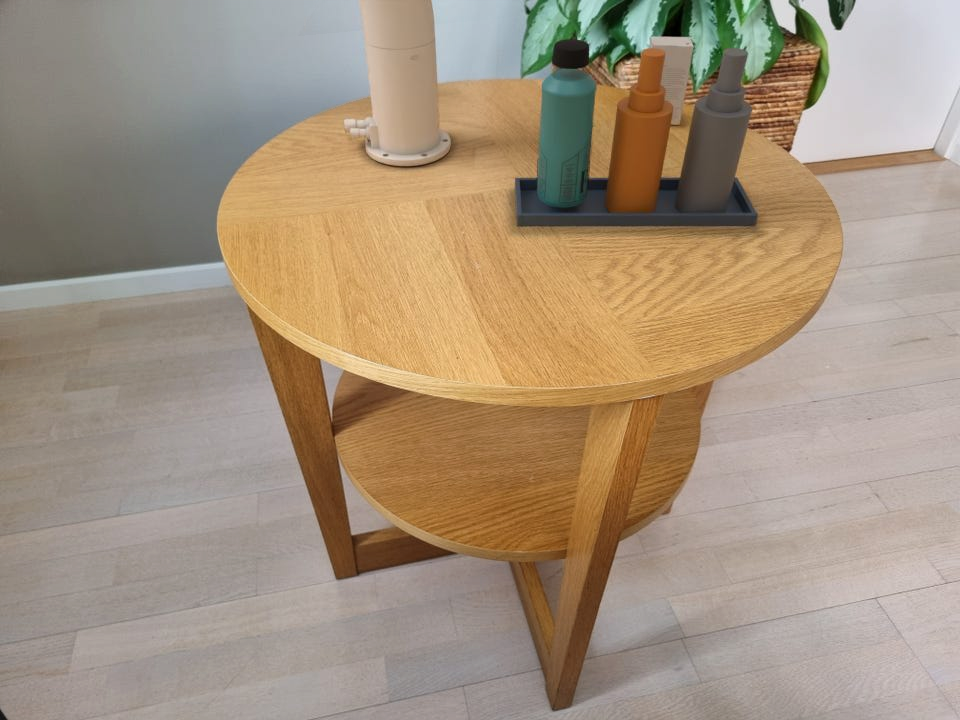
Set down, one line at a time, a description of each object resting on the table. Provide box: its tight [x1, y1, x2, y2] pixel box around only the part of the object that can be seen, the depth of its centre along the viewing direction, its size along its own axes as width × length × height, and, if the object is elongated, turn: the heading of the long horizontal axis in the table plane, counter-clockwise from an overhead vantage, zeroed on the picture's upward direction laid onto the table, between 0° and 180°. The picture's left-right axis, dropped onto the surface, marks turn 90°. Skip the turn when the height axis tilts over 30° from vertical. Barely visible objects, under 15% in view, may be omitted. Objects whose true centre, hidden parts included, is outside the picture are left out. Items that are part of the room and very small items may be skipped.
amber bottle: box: [605, 47, 674, 213], centre depth 83 cm, size 6×6×19 cm
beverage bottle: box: [536, 38, 598, 208], centre depth 83 cm, size 6×7×20 cm
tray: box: [514, 176, 759, 227], centre depth 89 cm, size 29×10×2 cm, turn 90°
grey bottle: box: [675, 47, 753, 213], centre depth 83 cm, size 6×6×19 cm
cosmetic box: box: [648, 36, 695, 126], centre depth 107 cm, size 6×4×12 cm
